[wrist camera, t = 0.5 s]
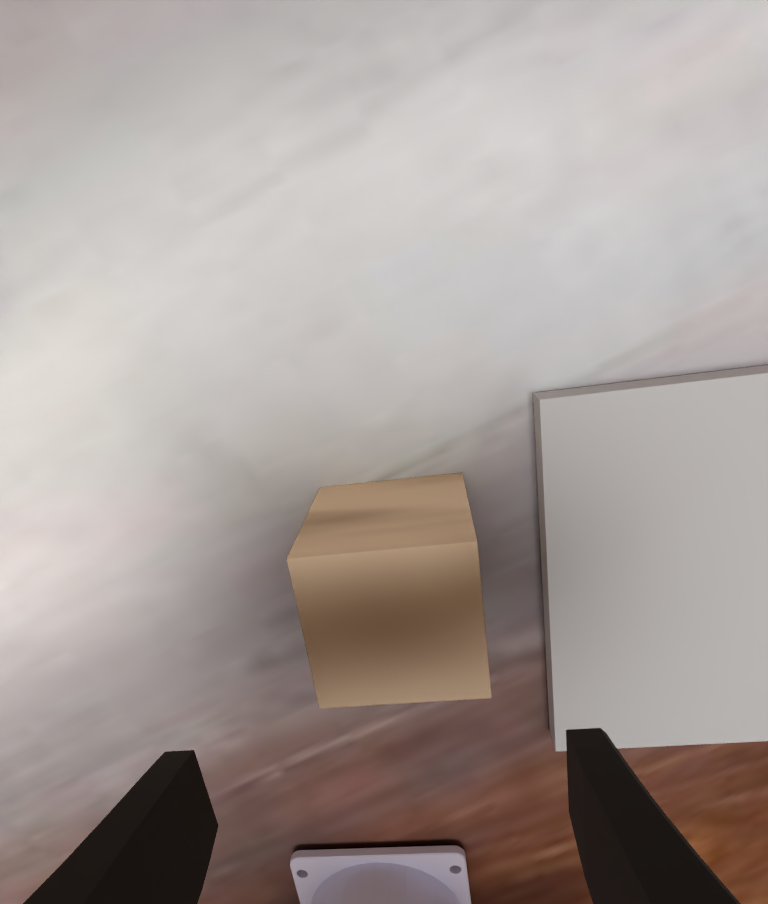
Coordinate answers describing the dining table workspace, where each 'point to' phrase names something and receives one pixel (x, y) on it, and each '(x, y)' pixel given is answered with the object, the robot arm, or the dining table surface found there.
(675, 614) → the light gray board
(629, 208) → the dining table surface
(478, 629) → the birch cube
